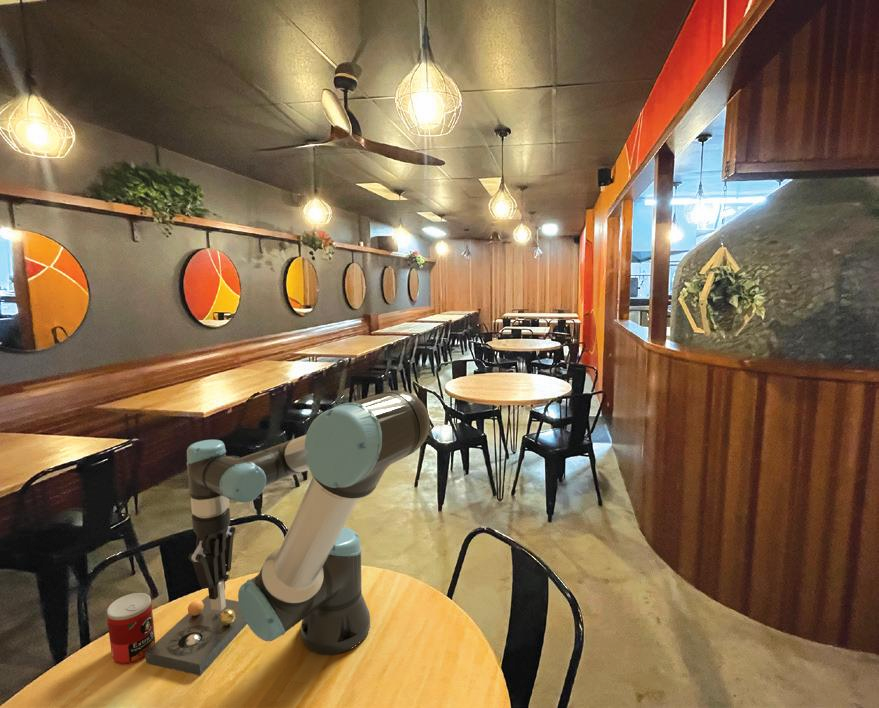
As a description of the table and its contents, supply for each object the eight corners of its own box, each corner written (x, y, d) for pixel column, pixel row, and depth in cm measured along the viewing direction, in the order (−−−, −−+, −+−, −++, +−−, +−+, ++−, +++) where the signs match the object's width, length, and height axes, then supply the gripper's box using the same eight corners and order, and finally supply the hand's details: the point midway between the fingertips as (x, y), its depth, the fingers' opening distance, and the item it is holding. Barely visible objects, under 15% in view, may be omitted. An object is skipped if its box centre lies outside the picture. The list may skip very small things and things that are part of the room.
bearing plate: (255, 614, 111) (255, 604, 110) (200, 675, 93) (199, 664, 93) (208, 605, 114) (207, 595, 113) (146, 663, 96) (144, 652, 96)
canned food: (135, 669, 95) (130, 619, 93) (102, 662, 97) (96, 614, 95) (164, 641, 102) (160, 594, 101) (133, 635, 104) (128, 590, 102)
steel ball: (198, 653, 100) (207, 637, 102) (190, 654, 97) (199, 637, 99) (186, 647, 101) (195, 631, 102) (178, 647, 98) (187, 631, 100)
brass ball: (238, 620, 105) (237, 607, 105) (229, 630, 102) (228, 616, 102) (226, 617, 106) (225, 604, 105) (216, 627, 103) (215, 614, 102)
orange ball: (207, 610, 108) (206, 597, 108) (197, 620, 105) (196, 607, 105) (195, 608, 109) (194, 595, 109) (185, 617, 106) (183, 604, 105)
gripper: (215, 496, 111) (222, 587, 114) (173, 523, 98) (183, 625, 102) (243, 498, 109) (250, 591, 113) (205, 527, 97) (214, 630, 100)
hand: (218, 607), depth 107 cm, fingers closed
